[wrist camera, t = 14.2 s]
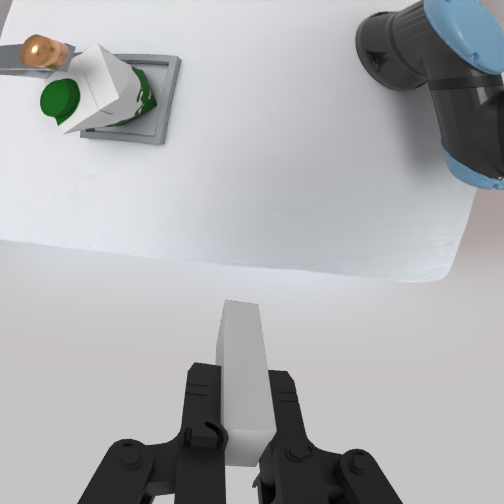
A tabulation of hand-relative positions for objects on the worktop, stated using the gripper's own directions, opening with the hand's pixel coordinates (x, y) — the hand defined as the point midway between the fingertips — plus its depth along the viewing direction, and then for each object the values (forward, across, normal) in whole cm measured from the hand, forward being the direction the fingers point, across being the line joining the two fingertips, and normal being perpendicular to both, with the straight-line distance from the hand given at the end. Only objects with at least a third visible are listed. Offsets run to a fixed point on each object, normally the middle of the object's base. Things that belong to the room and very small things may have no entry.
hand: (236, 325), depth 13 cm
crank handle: (+13, -25, +14) cm, 31 cm away
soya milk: (+37, -19, +11) cm, 43 cm away
